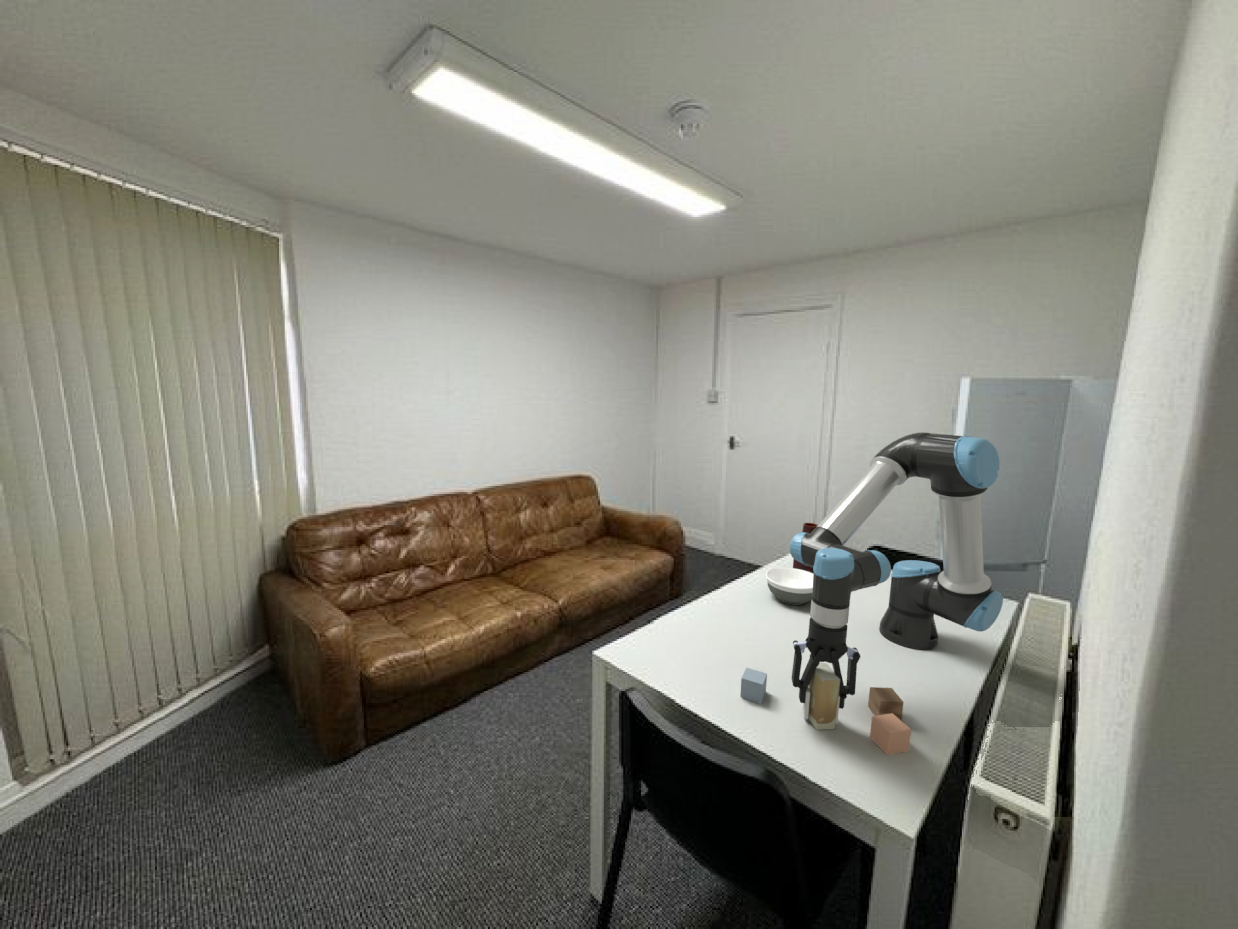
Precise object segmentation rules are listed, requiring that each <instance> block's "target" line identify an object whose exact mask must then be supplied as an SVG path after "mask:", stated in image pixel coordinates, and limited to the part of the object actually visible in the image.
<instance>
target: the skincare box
mask: <svg viewBox="0 0 1238 929" xmlns="http://www.w3.org/2000/svg"><path fill="white" fill-rule="evenodd" d="M839 687H840V679H839V677H838V676H836V675H835V673H834V670H833V668H831V667H830V666H829V665H828V663H827V662H820V663H819V665H818V666H817V667H816V670H815V672H814V674H813V677H812V679H811V681H810V684H809V690H810V701H809V712H808V719H809V722H811V724H812V726H813V727H814V728H815V730H818V731H819V730H835V729H836V724H835V721H836V712H837V704H838V695H839Z"/></svg>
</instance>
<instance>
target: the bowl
mask: <svg viewBox="0 0 1238 929" xmlns="http://www.w3.org/2000/svg"><path fill="white" fill-rule="evenodd" d="M765 577H766V581H767V587H768V589H769V591H770V593H771V594H773V595H774V596H775V597H776V598H778V599H779V600H780V601H781V602H783V603H785V604H787V605H793V606H799V605H803V604H805V603H808V602H810V601H811V600H812V592H813V573H810V572H808V571H804V570H800V569H795V568H793V567H775V568H770V569H769V570H768V571H766V572H765Z"/></svg>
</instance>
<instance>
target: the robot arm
mask: <svg viewBox="0 0 1238 929" xmlns="http://www.w3.org/2000/svg"><path fill="white" fill-rule="evenodd" d="M998 471H1000V457H999V453H998V450H997V448H996V446H994V444H993V443H992V442H990V441H989V440H988V439H985V438H981V437H974V436H972V435H953V434H943V433H932V432H931V433H930V432H915V433H910V434H907V435H904V436H902V437H900V438H898V439H896V440H894V441H892V442H891V443H889V444H887V445H886V446H884V447H883V448H882V449H880V450H879V452H878V453H876V454H875V455H874V457H873V458H872V459H871V460H870V462H869V468H868V469H867V470H866V471H865V473H864V474H863V475H862V476H861V477H859V479H858V480H857V481H856V483H855V484H853V486H852V487H851V488H850V489H849V490H848V491H847V493H846V494H845V495H844V496H843V497H842V498H841V499H840V500H839V502H838V503H836V505H835V506H834V507H833V508H832V509H831V510H830V511H829V512H828V513H827V515H826V516H825V517H824V518H823V519H822V520H821V521H820V522H819V523H818V524H817V525H818V526H817V527H816V528H815V529H814V530H813V531H812V532H811V533H810V534H809V533H804V532H802V531H801V532H799V533H796V534H795V535H794V536H792V538H791V540H790V543H789V553H790V556H791V557H792V559H795V560H797V561H799V562H800V563H802V564H804V565H806V566H810V567H813V571H814V574H813V592H812V600H811V602H810V613H809V616H810V617H809V623H808V624H809V625H808V633H807V637H806V638H805V641H798V640H796V639H795V640H793V641H792V645H793V649H794V653H793V654H794V655H793V663H792V671H791V682H792V687H794V688H798V689H799V690H798V691H799V692H798V700H799V702H800V703H802V714H803V718H804V720H808V719H809V718H808V712H809V701H810V690H809V684H810V681H811V679H812V677H813V674H814V672H815V670H816V667H817V666H818V665H819V663H827V664H828V663H829V664H831V665H832V670H833V671H834V673H835V675H836V676H838V677H839V679H840V687H839V695H838V704H837V712H836V721H835V725H838V723H839V722H838V720H839V711H840V710H841V709H842V710H843V709H844V707H845V701H846V698H847V695H850V696H854V695H855V694H856V684H857V682H856V681H857V669H858V667H857V666H858V663H859V660H860V659H861V654H860V652H859V650H858V648H857V647H849V646H848V645H847V636H848V623H849V615H850V603H851V594H852V592H856V591H859V590H863V589H868V588H871V587H876V586H878V585H879V584H883V583H884V582H886V581H887V580H889V578H890V577H891V579H890V591H889V597H888V598H889V599H888V605H887V606H888V607H887V608H886V610H885V612H884V614H883V616H882V618H881V620H880V621H879V627H878V628H879V632H880V634H881V635H882V636H883V637H884V638H886V639H887V640H888V641H890V642H893V643H895V644H897V645H900V646H903V647H905V648H911V649H916V650H917V649H918V650H931V649H935V648H936V647H937V646H938V642H939V633H938V630H937V625H936V621H935V616H937V617H940V618H942V619H945V620H948V621H949V622H952V623H954V624H956V625H959V626H962V627H963V628H968V629H970V630H973V631H975V632H984V631H987V630H988V629H990V628H991V627H992V625H993V624H994V623H995V622H996V620H997V619H998V617H999V615H1000V613H1001V611H1002V607H1003V604H1004V596H1003V595H1002V593H1001V592H999V591H997V590H994V589H993V588H992V581H991V578H990V577H989V576H988V575H987V574H985V572H984V551H983V550H984V549H983V547H984V546H983V527H982V526H983V523H982V522H983V521H982V504H981V503H982V501H981V498H982V497H981V496H982V495H984V494H985V493H986V492H987V491H988V490H989V488H990V487H991V486H993V485H994V484H995V482H996V481H997V479H998V475H999V474H998ZM915 477H916V478H922V479H925V480H927V479H928V480H929V481H930V490H931V491H932V492H933V494H935V495H937V496H938V507H939V520H940V522H939V523H940V534H941V535H940V536H941V537H940V538H941V550H942V562H943V563H942V564H943V570H942V571H941V567H940V565H938V564H937V563H935V562H934V563H933V562H931V561H930V562H929V561H924V560H914V559H913V560H912V559H910V560H908V559H907V560H900V561H898V562H895V563H894V565H893V568H891V567H892V566H891V563H890V560H889V559H888V558H887V557H886V555H885V554H884V553H882V552H881V551H878V550H874V549H871V550H869V549H867V550H863V551H862V550H861V551H860V550H858V549H853V548H851V547H848V546H846V545H845V544H846V543H847V542H848V541H850V539H851V538H852V537H853V535H854V534H855V533H856V532H857V530H859V529H860V527H861V526H862V525H863V524H864V522H866V521H867V519H868V518H870V516H871V515H872V514H873V513H874V511H875V510H876V509H877V508H878V507H879V506H880V505H881V503H882V502H883V501H884V500H885V499H886V497H887V496H888V495H890V493H891V492H892V491H893V489H895V487H897V486H901V485H903V484H904V483H905V482H906V481H907V480H908V479H910V478H915ZM934 615H935V616H934ZM806 648H807V650H808V651H809V653H810V654H809V659H808V661H807V664H806V666H805V668H804V670H803V673H802V674H801V669H802V661H803V654H804V652H805V649H806ZM845 654H846V657H847V672H846V685H845V684H844V680H843V676H842V671H841V665H840V661H839V660H840V659H841V658H842V657H843V656H844V655H845Z"/></svg>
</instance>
